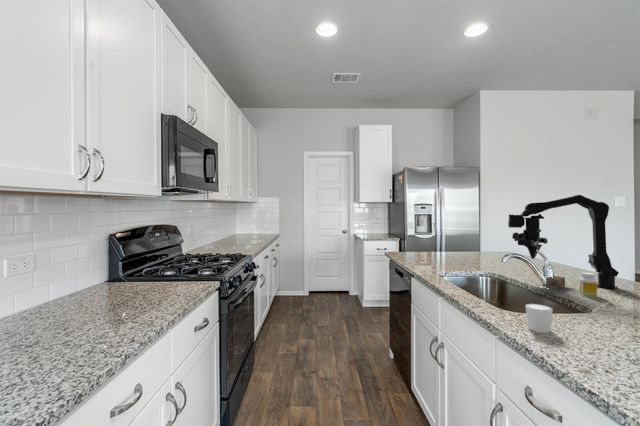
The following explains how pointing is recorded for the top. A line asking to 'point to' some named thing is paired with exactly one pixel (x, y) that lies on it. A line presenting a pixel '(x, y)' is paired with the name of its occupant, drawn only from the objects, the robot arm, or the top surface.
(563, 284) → the walnut block
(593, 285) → the supplement bottle
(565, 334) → the top surface
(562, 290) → the gray flat panel
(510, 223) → the robot arm
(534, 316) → the white cup
